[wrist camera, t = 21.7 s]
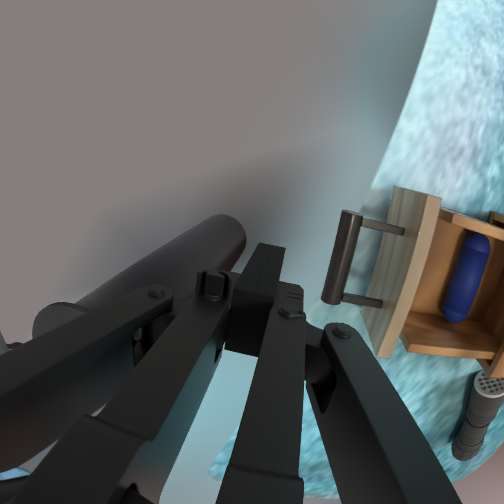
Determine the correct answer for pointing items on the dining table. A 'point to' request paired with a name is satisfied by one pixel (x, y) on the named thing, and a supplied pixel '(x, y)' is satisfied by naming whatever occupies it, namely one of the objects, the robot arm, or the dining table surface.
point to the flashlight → (478, 415)
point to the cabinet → (500, 364)
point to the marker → (466, 277)
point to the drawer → (421, 279)
